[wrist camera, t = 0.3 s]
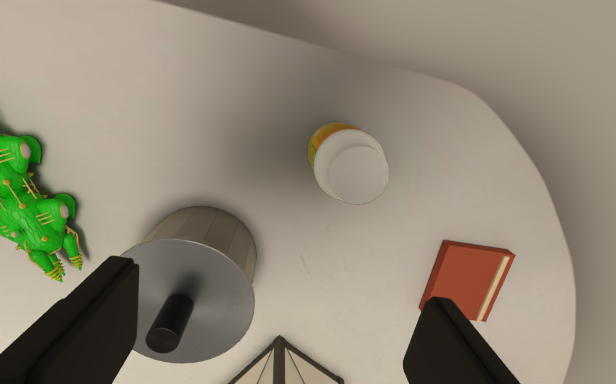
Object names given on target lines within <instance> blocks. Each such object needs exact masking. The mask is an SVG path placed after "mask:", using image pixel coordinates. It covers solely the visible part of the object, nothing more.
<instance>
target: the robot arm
mask: <svg viewBox="0 0 616 384" xmlns="http://www.w3.org/2000/svg"><path fill="white" fill-rule="evenodd" d="M138 297H139V264H135V263H134V260H133V259H132V258H127V257H120V256H110V257H109V258H107V259H106V260H105V261H104V262H103V263H102V264H101V265H100V266H99V267H98V268H97V269H96V270H95V271H94V272H92V273H91V274H90V275H89V276H88V277H87V278H86V279H85V280H84V281H83V282H82V283H81V284H80V285H79V286H78V287H76V288H75V289H74V290H73V291H72V292H71V293H70V294H69V295H68V296H67V297H66V298H64V299H61V300H59V301H58V302H57V303H55V304H54V305H53V306H52V307H51V308H50V309H49V310H48V311H47V312H45V313H44V314H43V315H42V316H41V317H40V318H39V319H38V320H37V321H36V322H35V323H33V324H32V325H31V326H30V327H29V328H28V329H27V330H26V331H25V332H24V333H23V334H21V335H20V336H19V337H18V338H17V339H16V340H15V341H14V342H13V343H12V344H11V345H10V346H8V347H7V348H6V349H5V350H4V351H3V352H2V353H1V354H0V384H112V382H113V381H114V379H115V377H116V376H117V374H118V372H119V371H120V369H121V367H122V366H123V364H124V362H125V360H126V359H127V357H128V355H129V354H130V352H131V350H132V349H133V347H134V344H135V342H136V338H137V325H138ZM403 369H404V373H405V375H406V377H407V380H408V382H409V384H520V383H519V381H518V380H517V379H516V378H515V376H514V375H513V374H512V373H511V372H510V370H509V369H508V368H507V367H506V365H505V364H504V363H503V362H502V360H501V359H500V358H499V357H498V356H497V354H496V353H495V352H494V351H493V349H492V348H491V347H490V346H489V345H488V343H487V342H486V341H485V340H484V338H483V337H482V336H481V335H480V333H479V332H478V331H477V330H476V329H475V327H474V326H473V325H472V324H471V322H470V321H469V320H468V319H467V318H466V316H465V315H464V314H463V313H462V311H461V310H460V309H459V308H458V307H457V305H456V304H455V303H454V302H453V300H451V299H450V298H445V297H437V296H433V297H431V298H430V299H429V300H427V301H426V302H425V304H424V306H423V309H422V311H421V314H420V317H419V319H418V322H417V325H416V327H415V330H414V333H413V335H412V338H411V341H410V343H409V346H408V349H407V351H406V354H405V357H404V360H403Z"/></svg>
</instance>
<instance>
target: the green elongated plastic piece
mask: <svg viewBox="0 0 616 384" xmlns="http://www.w3.org/2000/svg"><path fill="white" fill-rule="evenodd" d="M40 159H41V147H40V144H39V143H38V141H37V140H36V139H35V138H33V137H31V136H27V135H24V136H20V137H17V136H9V135H8V134H2V135H1V133H0V198H1V199H0V236H2V237H6V238H8V239H10V240H12V241H14V242H17V243H18V244H19V245H18V246H17V247H15V248H16V249H17V250H18V249H20V248H21V249H23V250H24V251H25V252H26V253H27V256H28V259H29V260H30V261H31V262H33V263H34V264H36V265H37V266H38V267H40V268H41V269H42V270H44V271H45V275H48V277H52V279H55V281H57V280H58V281H60V282H63V281H62V279H61V278H62V276H61V274H62V275H63V276H65V273H64V270H65V269H62V268H64V266H62V267H61V265H62V263H59V262H60V261H61V259H59V260H58V258H57V256H56V254H55V252H57V251H58V250H60V249H61V248H62V247H64V248H65V250H66V251H67V253H68V254H69V256H70V257H69V258H68V259H70V260H71V259H72V260H71V262H72V263H73V265H76V266H75V267H76V268H77V267H78V269H79V270H82V268H81V266H82V264H81V263H82V262H83V261H80V260H82V258H81V257H80V256H82V254H79V252H78V249H79V244H78V242H79V241H78V235H77V233H76V232H74V231H73V230H72V229H70V228H68V226H66V222H67V218H68V217H72V218H74V216H75V210H76V207H75V201H74V200H73V198H72V197H71V196H69V195H67V194H58V195H56V196H55V197H54V199H45V198H47V197H48V195H44V196H43V195H42V196H41V195H40V193H39V192H38V190H37V189H36V187H35V185H34V184H33V182H32V181H31V179H30V178H29V177H31V176H32V175H34V173H32V172H31V173H27V169H28V164H29V163H32V162H37V163H40ZM29 180H30V182H31V183H32V184H29ZM28 185H33V186H34V189H33V190H31V189H30V187H29V186H28ZM27 187H28V188H29V190H28V188H27ZM25 189H27V190H25ZM35 189H36V191H37V192H38V193H35V192H33V191H34V190H35ZM65 229H68V231H66V232H68V233H66V232H65V231H64V230H65ZM69 229H70V230H71V231H69ZM69 232H73V234H71V233H69ZM74 233H75V234H76V235H77V237H76V236H75V235H74ZM77 245H78V247H77Z"/></svg>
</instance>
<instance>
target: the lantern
mask: <svg viewBox="0 0 616 384" xmlns="http://www.w3.org/2000/svg"><path fill="white" fill-rule="evenodd" d="M228 384H344V380H343V379H342V378H340V377H337V376H335V375H334V374H332V373H331V372H329V371H328V370H326V369H325V368H323V367H322V366H321V365H319V364H318V363H316V362H315V361H313V360H312V359H310V358H309V357H308V356H306V355H305V354H303V353H302V352H300V351H299V350H297V349H296V348H295V347H293V346H292V345H290V344H289V343H287V342H286V341H285V339H284V338H282V337H281V336H280V335H279V336H278V337H277V338H276V339H275V340H274V342H273V343H272V344H271V345H270V346H269V347H268V348H267V349H266V350H265V351H264V352H263V353H261V354H260V355H259V356H258V357H257V358H256V359H255V360H254V361H253V362H252V363H250V364H249V365H248V366H247V367H246V368H245V369H244V370H243V371H242V372H241V373H239V374H238V375H237V376H236V377H235V378H234V379H233V380H232V381H231V382H230V383H228Z"/></svg>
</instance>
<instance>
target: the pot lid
mask: <svg viewBox="0 0 616 384" xmlns="http://www.w3.org/2000/svg"><path fill="white" fill-rule="evenodd" d="M120 257H127V258H132V259H133V260H134V263H135V264H139V297H138V325H137V338H136V342H135V344H134V347H133V350H134V351H136V352H138V353H140V354H142V355H144V356H146V357H149V358H152V359H155V360H159V361H163V362H170V363H194V362H200V361H205V360H208V359H211V358H214V357H216V356H219V355H221V354H223V353H225V352H226V351H228V350H229V349H231V348H232V347H233V346H235V345H236V344H237V343H238V342H239V341H240V340H241V339H242V337H243V336H244V335H245V333H246V332H247V330H248V328H249V326H250V324H251V322H252V318H253V314H254V306H255V297H254V291H253V287H252V284H251V281H250V279H249V277H248V275H247V274H246V272H245V270H244V269H243V268H242V267H241V265H240V264H239V263H238V262H237V261H236V260H235V259H234V258H233V257H232V256H230V255H229V254H228V253H226V252H225V251H224V250H222V249H220V248H218V247H217V246H215V245H212V244H210V243H208V242H205V241H202V240H198V239H194V238H189V237H180V236H168V237H159V238H154V239H150V240H147V241H144V242H141V243H139V244H137V245H135V246H133V247H131V248H130V249H128V250H126V251H125V252H124V253H123V254H121V255H120Z"/></svg>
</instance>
